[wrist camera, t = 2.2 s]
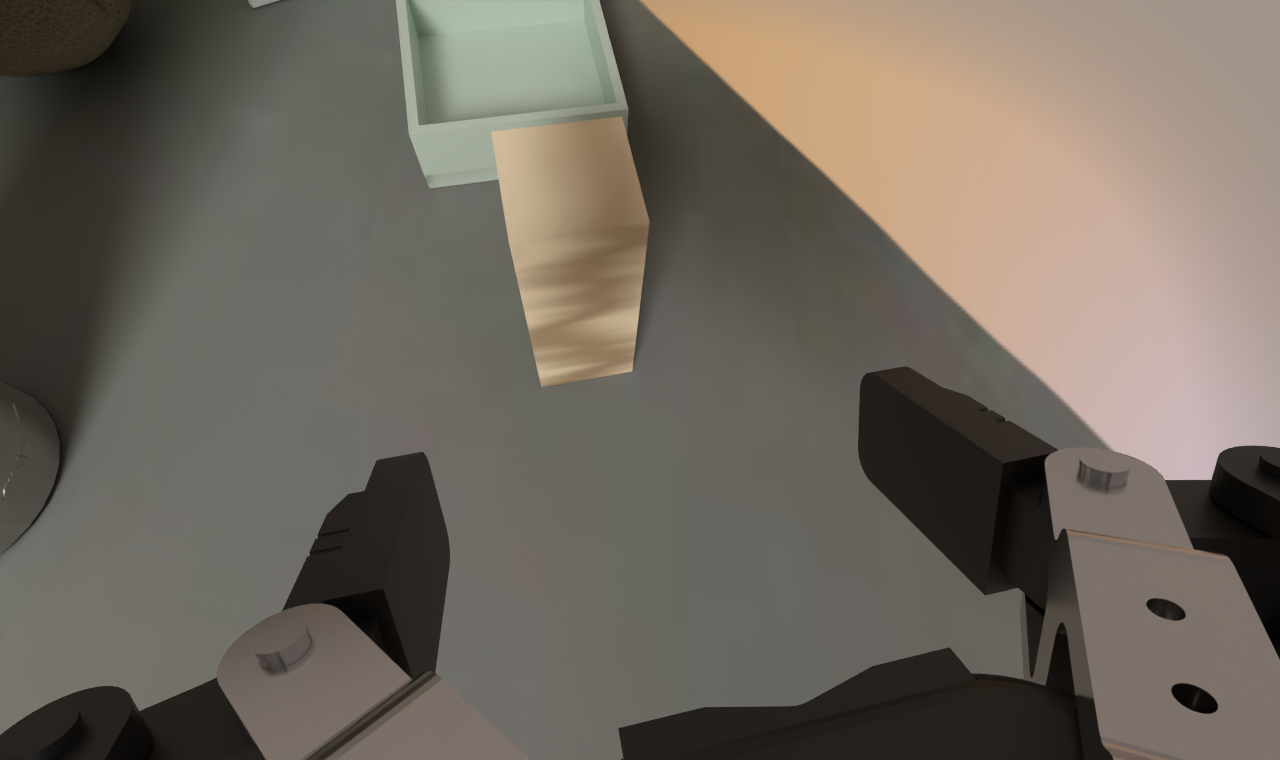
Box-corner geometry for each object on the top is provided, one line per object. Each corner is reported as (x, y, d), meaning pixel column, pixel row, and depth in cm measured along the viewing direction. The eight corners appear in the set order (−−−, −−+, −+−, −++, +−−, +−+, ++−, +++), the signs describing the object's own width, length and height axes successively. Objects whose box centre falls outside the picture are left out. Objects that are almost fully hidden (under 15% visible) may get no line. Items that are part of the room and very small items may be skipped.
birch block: (541, 387, 31) (508, 241, 20) (528, 306, 33) (491, 131, 22) (632, 371, 32) (649, 222, 21) (614, 293, 33) (621, 116, 22)
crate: (429, 188, 35) (409, 134, 31) (413, 45, 39) (394, -18, 35) (625, 163, 37) (628, 109, 33) (591, 27, 41) (590, -35, 37)
